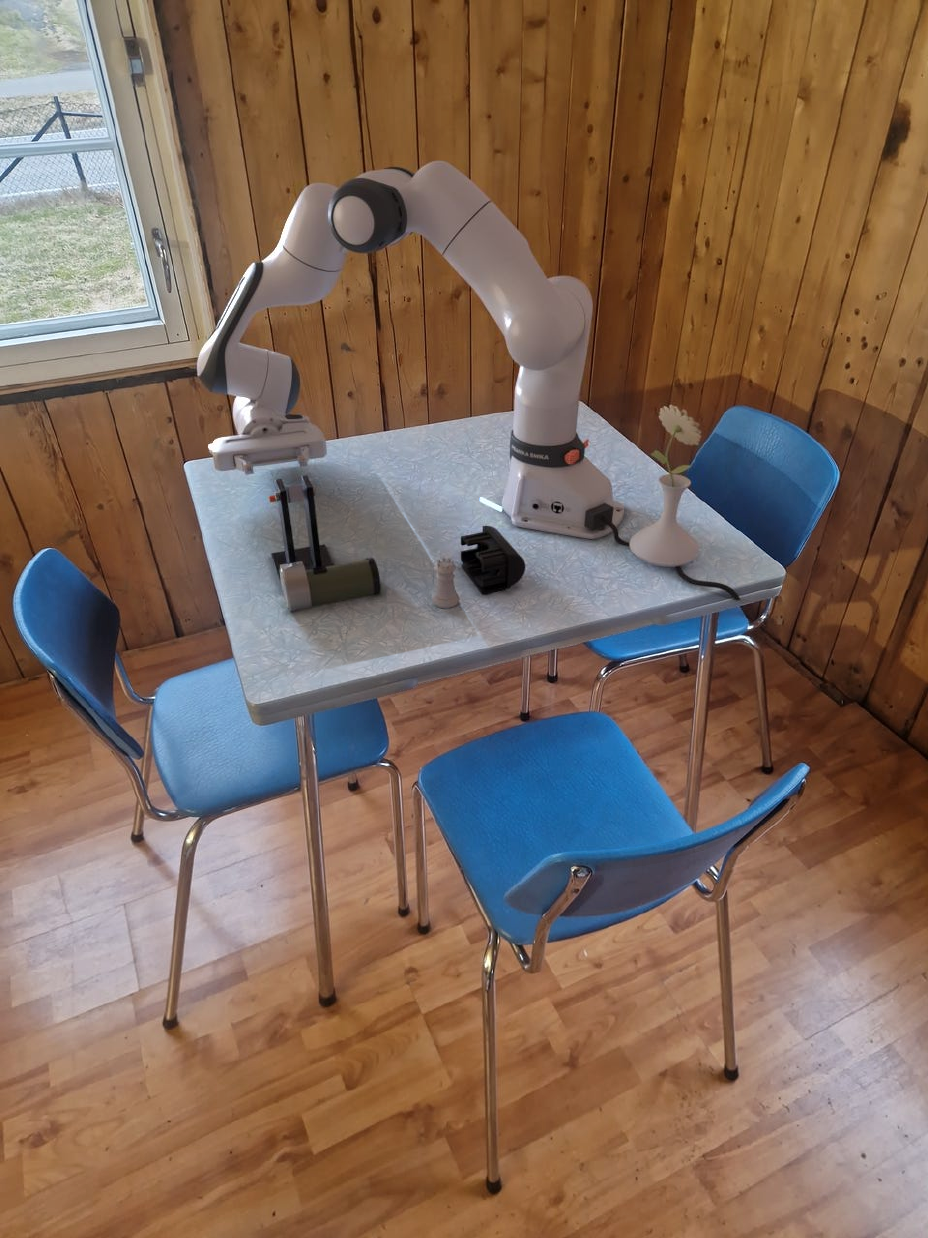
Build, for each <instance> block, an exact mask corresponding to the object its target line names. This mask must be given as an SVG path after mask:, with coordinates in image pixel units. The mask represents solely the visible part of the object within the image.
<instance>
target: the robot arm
mask: <svg viewBox="0 0 928 1238" xmlns="http://www.w3.org/2000/svg"><path fill="white" fill-rule="evenodd" d="M283 227H284V228H283V230H282V233H281V237H280V239H279V242H278V244H277V246H276V247H275V249H274V250H273V251H272V252H271V253H270V254H269V255H268V256H267V257H266V258H264V259H263V260H261V261H257V262H253V263H252V264H251V265H250V266H249V267H248V268H247V269H246V271H245V273H244V275H243V276H242V277H241V280H239V283H238V284H237V286H236V288H235V290H234V292H233V294H232V295H231V297H230V299H229V301H228V303H227V306H226V307H225V309H224V311H223V313H222V314H221V317H220V318H219V320H218V322H217V324H216V326H215V328H214V329H213V331H212V332H211V334H210V335H209V337H208V338H207V340H206V341H205V342H204V345H203V347H202V348H201V349H200V351H199V355H198V356H197V357H198V358H197V362H196V376H197V377H198V379H199V381H200V382H201V383H202V385H203V386H204V387H205V388H206V389H207V390H208V392H210V393H212V394H220V395H226V396H228V395H229V396H234V397H235V398H234V401H233V405H232V419H233V424H234V427H235V430H236V433H237V435H230V436H229V435H228V436H222V437H218V438H216V439H214V441H212V443H209V444H208V446H207V449H208V452H209V454H211V455H212V460H213V464H214V469H215V471H218V472H228V471H235V470H237V471H241V472H243V473H244V475H245V476H248V475H253V474H255V473H254V468H257V467H265V466H272V465H279V464H286V463H294V462H297V465H298V467H299V468H305V467H308V466H309V464H308V463H309V461H310V460H314V459H322V458H324V457H326V456H327V454H328V446H327V439H326V437H325V435H324V433H323V432H322V430H321V429H320V428H319V426H317V425H316V424H314V423H311V420H310V417H309V416H308V415H306V414H293V413H292V414H291V412H292V411H293V410H294V409H295V406H296V404H297V402H298V398H299V396H300V389H301V375H300V372H299V369H298V367H297V365H296V362H295V361H294V359H293V358H292V357H291V356H289V355H286V354H283V353H279V352H277V351H273V350H269V349H264V348H260V347H258V346H257V347H256V346H254V345H250V344H245V343H243V342H240V341H241V340H242V337H243V336H244V333H245V332H246V330H247V328H248V326H249V325H250V323H251V321H252V319H253V318H254V316H255V315H256V314H257V313H259V312H261V311H263V310H265V309H268V308H269V309H270V308H274V307H285V306H307V305H312V304H316V303H317V302H319V301H322V300H324V299H325V298H326V297H328V296H329V295H330V294H331V293H332V291H333V290H334V288H335V286H336V285H337V282H338V280H339V278H340V275H341V273H342V271H343V267H344V265H345V263H346V259H347V257H348V254H349V252H353V253H357V254H373V253H377V252H379V251H382V250H384V249H385V248H388V247H392V246H395V245H397V244H399V243H400V242H402V241H403V240H405V239H406V238H407V237H408V236H410V235H412V234H414V233H415V234H418V235H420V236H422V237H423V238H424V239H426V240H427V241H428V242H429V244H431V245H432V246H433V247H434V248H435V249H436V250H437V252H438V253H439V254H440V255H441V256H442V258H444V260H446V261H447V263H449V265H450V266H451V267H452V268H453V269H454V270H455V271H456V272H457V273H458V274H459V276H460V277H461V278H462V279H463V280H464V281H465V282H466V283H467V284H468V285H469V286H470V287H471V289H473V291H474V293H475V294H476V295H477V296H478V298H479V299H480V301H481V302H482V303H483V305H484V307H485V308H486V309H487V311H488V313H489V314H490V316H491V317H492V319H493V321H494V322H495V324H496V326H497V327H498V329H499V330H500V332H501V334H502V335H503V337H504V340H505V344H506V348H507V351H508V353H509V355H510V356H511V358H512V359H513V360H514V362H515V363H517V365H519V370H518V375H517V379H516V383H515V386H514V401H513V405H514V406H513V426H512V427H513V429H512V430H511V432H510V438H509V459H510V466H509V473H508V478H507V482H506V487H505V491H504V493H503V497H502V499H501V504H500V505H498V504H496V503H495V502H492V501H491V500H488V499H486V498H485V497H482V496H480V497H479V502H481V503H482V504H484V505H486V506H488V507H491V508H492V509H494V510H496V511H499V512H502V511H504V512H505V513H506V514H507V515H508V516H509V517H510V521H511V523H512V525H513V526H515V527H518V528H524V529H529V530H534V531H535V530H536V531H542V532H547V533H552V534H558V535H563V536H564V535H565V536H570V537H576V538H577V537H578V538H583V539H588V540H589V539H590V540H595V539H596V540H597V539H600V538H602V537H605V536H607V535H609V534H610V533H613V539H614V540H615V542H616V543H618V544H619V545H621V546H626V547H630V545H629V543H630V542H628V541H625V540H623V539H622V538H621V537H620V536H619V530H618V528H617V527H618V526H619V525H620V524H621V522H622V521H623V519H624V516H625V507H624V505H623V503H621V502H619V501H616V500H614V493H613V486H612V482H611V480H610V479H609V478H608V477H607V476H606V475H605V473H603V472H602V471H601V470H599V468H597V466H596V465H594V464H593V462H592V461H590V460H589V459H588V458H587V457H586V456H585V454H586V453H585V451H586V448H588V446H589V440H590V439H589V438H587V439H586V440H585V441H584V442H583V441H582V440H581V438H580V436H579V433H578V432H577V427H578V418H579V417H578V416H579V407H580V395H581V388H582V387H581V386H582V382H583V376H584V371H585V365H586V360H587V353H588V346H589V342H590V341H589V340H590V334H591V327H592V318H593V312H594V310H593V309H594V304H593V297H592V294H591V291H590V289H589V288H588V286H587V285H586V284H585V283H584V282H583V281H582V280H581V279H579V278H578V277H575V276H573V275H557V276H552V277H549V278H548V277H547V275H546V274H545V272H544V271H543V269H542V267H541V266H540V264H539V263H538V261H537V259H536V257H535V256H534V254H533V252H532V250H531V248H530V245H529V241H528V240H527V238H526V237H525V236H524V234H523V233H521V232H520V230H519V229H518V228H517V227H516V226H515V225H514V224H513V222H511V220H510V219H509V218H508V217H507V216H506V214H504V213H503V212H502V210H500V208H499V207H498V206H497V205H496V204H495V203H494V202H493V201H492V199H490V198H489V196H488V195H487V194H486V193H485V192H484V191H483V190H482V189H481V188H480V187H479V186H478V185H477V184H475V183H474V182H473V181H472V180H471V179H470V178H469V177H467V175H466V174H464V173H463V172H462V171H460V170H459V169H457V167H455V166H454V165H453V164H451V163H449V162H447V161H445V160H433V161H430V162H428V163H426V164H425V165H423V166H422V167H420V168H418V170H416V172H415V173H414V172H412V171H411V170H409V169H407V168H404V167H401V166H400V167H399V166H388V167H384V168H382V169H376V170H368V171H365V172H363V173H361V174H360V175H358V176H356V177H354V178H351V179H349V180H346V181H345V182H344V183H343V184H341V185H340V186H339V187H337V186H335V185H333V184H330V183H326V182H314V183H311V184H308V185H307V186H306V187H305V188H303V190H302V191H301V193H300V194H299V196H298V198H297V200H296V201H295V203H294V205H293V207H292V209H291V211H290V213H289V215H288V218H287V220H286V222H285V225H284V226H283ZM674 568H675V571H676V573H677V574H678V576H679V577H680V578H681V579H682V580H683V581H685V582H686V583H688V584H691V585H694V586H700V587H708V588H714V589H715V588H716V589H720V590H722V591H724V592H726V593H728V594H729V595H730V596H731V598H732V599H733V600H735V601H740V600H741V598H740V596H739V595H738V593H737V592H736V591H735V590H734V589H733V588H732V587H730V586H729V585H726V584H724V583H722V582H716V581H707V580H698V579H695V578H692V577H690V576H689V575H687V574H686V573H685V572H684V571H683V570H682V567H681V566H676V567H674Z"/></svg>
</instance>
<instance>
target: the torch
mask: <svg viewBox="0 0 928 1238" xmlns="http://www.w3.org/2000/svg"><path fill="white" fill-rule="evenodd" d="M280 578H281V583H280V585H281V584H282V586H281V589H282V593H283V594H282V595H283V598H284V601H285V604H286V608H287V609H288V610H289V612H290V613H291V612H296V611H301V610H307V609H312V607H317V606H320V605H324V604H325V605H326V604H331V603H336V602H341V601H346V600H347V601H348V600H352V599H356V598H357V599H358V598H363V597H368V596H373V595H378V594H381V589H382V588H381V587H382V585H381V577H380V573H379V568H378V565H377V562H376V560H375V557H372V556H371V557H366V558H365V559H362V560H357V561H351V562H345V563H341V564H333V566H328V567H326V566H320V567H314V568H312V569H311V570H305V567H304V565H303V562H302V561H300V562H294V563H288V564H283V565H280Z"/></svg>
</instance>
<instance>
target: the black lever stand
mask: <svg viewBox="0 0 928 1238" xmlns="http://www.w3.org/2000/svg"><path fill="white" fill-rule="evenodd" d="M300 478H301V479H300V480H301V485H302V488H303V493H304V498H305V500H304V501H303V504H304V511H305V520H306V521H305V522H306V529H307V537H308V544H309V546H306V547H305V546H304V547H300V548H295V544H294V537H293V529H292V523H291V515H290V507H289V502H288V499H287V491H286V486H285V483H284V481H283V479H282V478H277V479H274V482H275V490H276V491H275V492H274V495H275V499H276V501H277V504H278V510H279V518H280V525H281V532H282V539H283V547H284V550H283V551H277V552H271V553H270V555H271V560H272V562H273V564H274V568H275V571H276V574H277V577H278V581H279V584H280V586H281V587H282V584H281V578H280V565H283V564H288V563H294V562H300V561H302V562H303V565H304V567H305V570H311V569H312V568H314V567H320V566H326V567H328V566H333V565H334V563H333V561H332V559H331V555H330V553H329V551H328V549H327V547H326V544H325V543H324V544H323V543H322V544H320V537H319V529H318V521H317V520H318V519H317V512H316V511H317V510H316V501H315V496H317V495H316V494H317V493H316V488H315V486H313V484H312V481H311V479H310V478H309V475H308V474H306V475H301V476H300Z"/></svg>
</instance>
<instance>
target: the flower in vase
mask: <svg viewBox="0 0 928 1238" xmlns="http://www.w3.org/2000/svg"><path fill="white" fill-rule="evenodd" d="M659 410H660V411H659V413H658V414H659V415H658V419H659V421H661V424H662V426H663V427H664V428H665V430H666V432H668V433H669V434H670V436H671V437H670V440H669V442H668V444H667V447H666V451H665V455H663V453H661V452H660V451H659V450H657V449H655V450H654V451H653V452H651V453H650V456H651V457H653V458H655V459H656V460H657V461H659V462H660V463H661V464H662V465H666V467H667V469H668V472H669V474H663V475H661V476H660V477H658V482H659V484H660V486H661V488H662V491H663V507H662V513H661V516H660V518H659V519H658V521H656V522H654V523H652V524H648V525H647V526H644V527H642V528H640V529H639V530H637V531H636V532H635V533H633V535H632V536H631V538H630V540H629V542H628V543H629V545H630V546H629V548H630V550H631V552H632V553H633V555H634V556H635V557H636V558H637V559H639V560H641V561H642V562H645V563H648V564H650V565H654V566H658V567H667V568H675V567H676V566H680V567H681V566H685V565H687V564H689V563H692V561H694V560H695V559H697V557H698V555H699V554H700V549H699V544H698V542H697V541H696V539H695V537H693V535H692V534H691V533H689V532H688V531H687V530H686V529H685V528H683V526H681V525H680V524H679V523H678V521H677V514H678V507H679V505H680V500H681V498H682V496H683V494H684V492H685V491H686V490H687V489H689V487H690V486H691V484H692V481H691V479H689V478H688V477H686V476H684V475H681V474H680V473H683V472H685V471H687V470H688V469H690V467H691V466H692V464H691V465H689V464H682V465H679V466H677V467H675V468H674V469H672V470H671V466H670V463H669V457H668V456H669V450H670V448H671V445H672V442H673V440H674V438H676V440H677V441H678V442H679V443H683V444H684V445H686V446H688V445H689V446H695V445H696V446H699V445H700V443H699V442H701V439H702V430H700V429H698V428H699V427H700V423H699V422H697V421H695V420H694V418H693V417H692V416H688V411H687V410H686V409H682V410H679V407H678V406H676V405H675V406H674V405H673V404H669V407H668V406H666V405H664V406H663V407H660V408H659Z"/></svg>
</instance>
